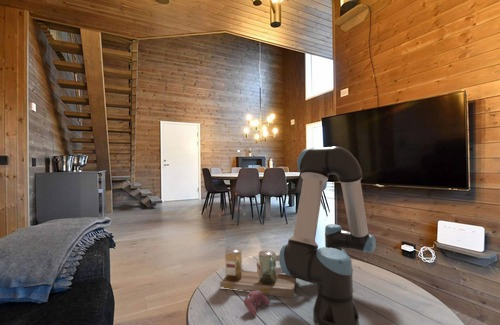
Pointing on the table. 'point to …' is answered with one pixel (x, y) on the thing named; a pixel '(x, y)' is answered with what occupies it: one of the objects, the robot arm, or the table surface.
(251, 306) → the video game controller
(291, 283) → the wooden tray
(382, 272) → the table surface
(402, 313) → the table surface
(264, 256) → the green tin
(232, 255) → the mustard tin
